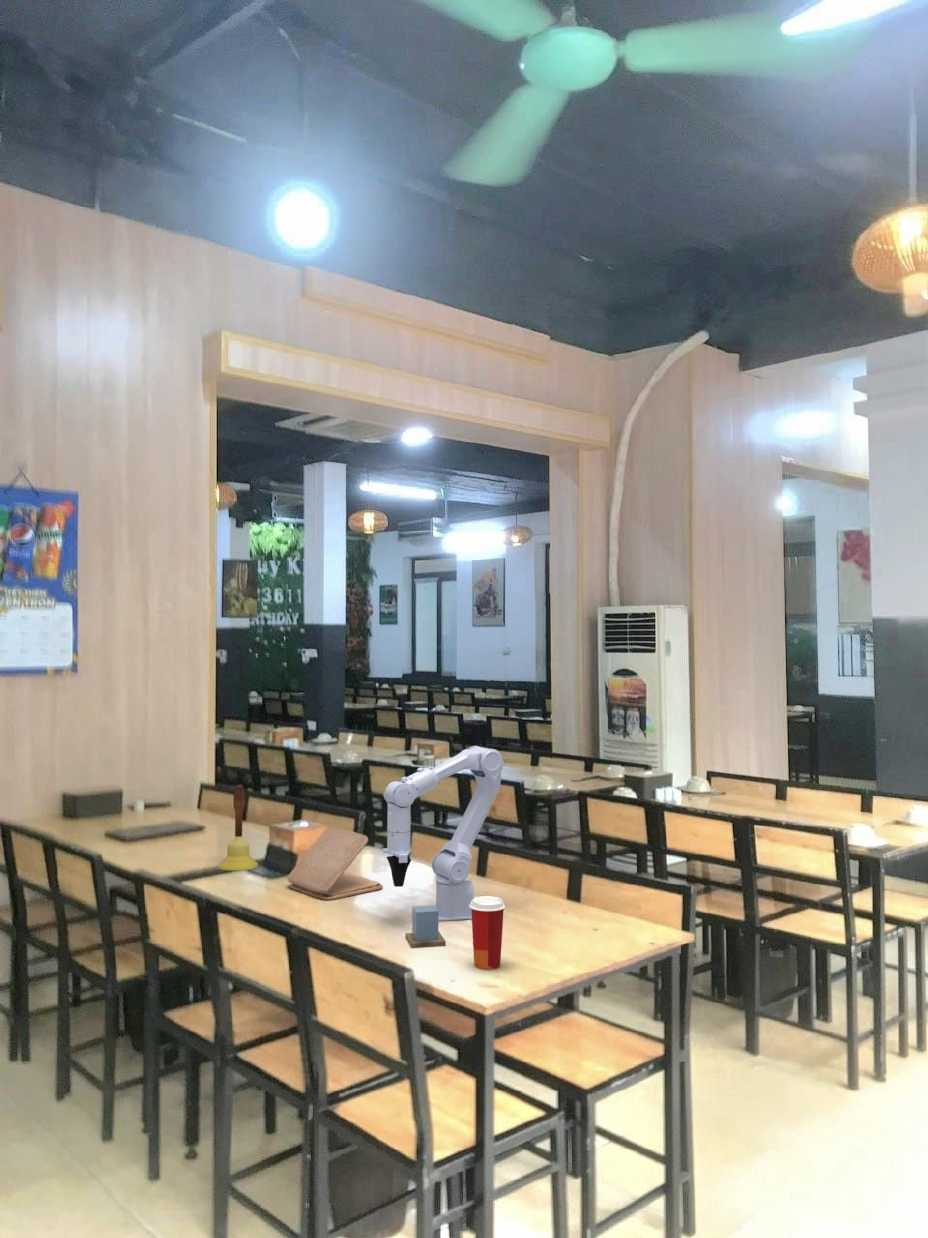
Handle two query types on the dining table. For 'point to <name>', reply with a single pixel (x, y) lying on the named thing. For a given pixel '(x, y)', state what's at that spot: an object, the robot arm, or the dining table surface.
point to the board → (430, 943)
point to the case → (332, 867)
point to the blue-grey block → (425, 923)
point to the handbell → (238, 839)
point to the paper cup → (487, 931)
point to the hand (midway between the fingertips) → (398, 886)
